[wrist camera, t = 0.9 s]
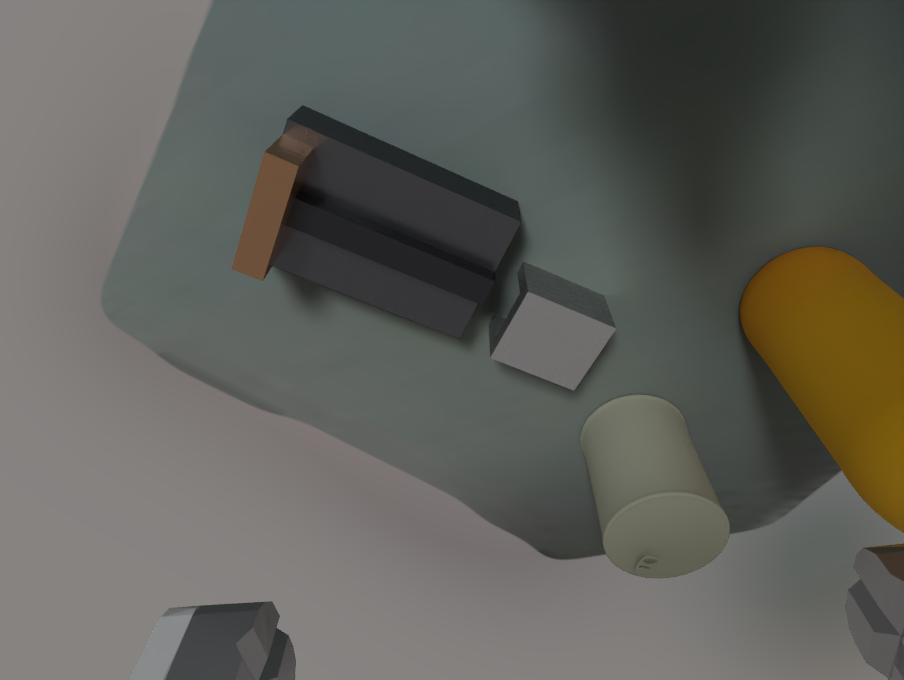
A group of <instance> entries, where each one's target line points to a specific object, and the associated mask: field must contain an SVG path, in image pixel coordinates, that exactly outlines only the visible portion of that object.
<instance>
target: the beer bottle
mask: <svg viewBox="0 0 904 680" xmlns="http://www.w3.org/2000/svg"><path fill="white" fill-rule="evenodd" d="M740 319H741V324H742V327H743V329H744V332H745V334H746V336H747V338H748V340H749V341H750V343H751V344H752V345H753V347H754V348H755V349H756V351H757V352H758V353H759V354H760V356H761V357H762V358H763V359H764V361H765V362H766V363H767V365H768V366H769V368H770V369H771V371H772V372H773V373H774V375H775V376H776V378H777V379H778V380H779V382H780V383H781V385H782V386H783V388H784V389H785V390H786V392H787V393H788V395H789V396H790V397H791V399H792V400H793V402H794V403H795V404H796V406H797V407H798V409H799V410H800V412H801V413H802V414H803V416H804V417H805V419H806V420H807V421H808V423H809V424H810V426H811V427H812V429H813V430H814V431H815V433H816V434H817V436H818V437H819V438H820V440H821V441H822V443H823V444H824V446H825V447H826V448H827V450H828V451H829V453H830V454H831V455H832V457H833V458H834V460H835V461H836V462H837V464H838V465H839V467H840V468H841V470H842V471H843V473H844V474H845V476H846V477H847V479H848V480H849V482H850V483H851V484H852V486H853V487H854V488H855V490H856V491H857V492H858V493H859V495H860V496H861V497H862V498H863V500H864V501H865V502H866V503H867V504H868V505H869V506H870V507H871V508H872V509H873V510H874V511H875V512H876V513H878V514H879V515H880V516H881V517H882V518H884V519H885V520H886V521H887V522H889V523H890V524H891V525H893V526H894V527H895V528H897V529H899V530H900V531H902V532H903V533H904V298H902V297H901V296H900V295H899V294H898V293H896V292H895V291H894V290H893V289H891V288H890V287H889V286H888V285H886V284H885V283H884V282H883V281H882V280H880V279H879V278H878V277H877V276H876V275H875V274H873V273H872V272H871V271H870V270H869V269H868V268H867V267H866V266H865V265H864V264H863V263H861V262H860V261H859V260H857V259H855V258H854V257H852V256H850V255H848V254H847V253H845V252H842V251H839V250H836V249H833V248H828V247H805V248H800V249H796V250H792V251H790V252H787V253H785V254H782V255H780V256H778V257H777V258H775V259H773V260H771V261H770V262H769V263H767V264H766V265H765V266H763V267H762V268H761V269H760V270H759V271H758V272H757V273H756V274H755V275H754V277H753V278H752V279H751V281H750V282H749V283H748V285H747V287H746V289H745V291H744V293H743V297H742V300H741V304H740Z"/></svg>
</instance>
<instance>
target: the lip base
mask: <svg viewBox="0 0 904 680" xmlns="http://www.w3.org/2000/svg"><path fill="white" fill-rule="evenodd" d="M520 224H521V217H520V211H519V206H518V201H516V200H514V199H511V198H509V197H507V196H505V195H502V194H500V193H498V192H496V191H493V190H491V189H489V188H487V187H484V186H482V185H480V184H478V183H475V182H473V181H471V180H469V179H466V178H464V177H462V176H460V175H457V174H455V173H453V172H451V171H449V170H446V169H444V168H442V167H440V166H437V165H435V164H433V163H431V162H428V161H426V160H424V159H422V158H419V157H417V156H415V155H413V154H410V153H408V152H406V151H404V150H401V149H399V148H397V147H395V146H393V145H390V144H388V143H386V142H384V141H381V140H379V139H377V138H375V137H372V136H370V135H368V134H366V133H363V132H361V131H359V130H357V129H354V128H352V127H350V126H348V125H345V124H343V123H341V122H339V121H337V120H334V119H332V118H330V117H328V116H325V115H323V114H321V113H319V112H316V111H314V110H312V109H310V108H307V107H305V106H303V105H302V106H301V107H300V108H299V109H298V110H297V111H296V112H295V113H293V114H292V115H291V116H290V117H289V118H288V119H287V122H286V125H285V129H284V132H283V135H282V136H281V137H280V138H279V139H277V140H276V141H275V142H274V143H273V144H272V145H271V146H270V147H269V148H268V149H267V150H266V151H265V153H264V156H263V160H262V163H261V167H260V170H259V174H258V177H257V181H256V185H255V188H254V192H253V195H252V199H251V202H250V206H249V210H248V213H247V217H246V220H245V224H244V227H243V231H242V234H241V238H240V242H239V245H238V249H237V252H236V256H235V259H234V263H233V266H232V269H233V270H236V271H238V272H241V273H243V274H246V275H249V276H251V277H254V278H256V279H259V280H262V281H263V280H264V278H265V277H266V275H267V274H268V272H269V270H270V269H271V267H272V266H274V267H277V268H279V269H282V270H284V271H287V272H289V273H292V274H294V275H297V276H300V277H302V278H305V279H307V280H310V281H312V282H315V283H317V284H320V285H322V286H325V287H328V288H330V289H333V290H335V291H338V292H340V293H343V294H345V295H348V296H350V297H353V298H356V299H358V300H361V301H363V302H366V303H368V304H371V305H373V306H376V307H378V308H381V309H384V310H386V311H389V312H391V313H394V314H396V315H399V316H401V317H404V318H407V319H409V320H412V321H414V322H417V323H419V324H422V325H424V326H427V327H429V328H432V329H435V330H437V331H440V332H442V333H445V334H447V335H450V336H452V337H455V338H457V339H460V337H461V335H462V333H463V331H464V329H465V327H466V325H467V324H468V322H469V320H470V318H471V316H472V314H473V312H474V310H475V308H476V307H477V305H478V304H480V305H482V306H483V304H484V302H485V300H486V298H487V297H488V295H489V293H490V291H491V289H492V287H493V285H494V284H495V271H496V269H497V267H498V265H499V263H500V261H501V259H502V258H503V256H504V254H505V252H506V250H507V248H508V246H509V244H510V242H511V241H512V239H513V237H514V235H515V233H516V231H517V229H518V227H519V225H520Z"/></svg>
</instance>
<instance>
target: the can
mask: <svg viewBox="0 0 904 680" xmlns="http://www.w3.org/2000/svg"><path fill="white" fill-rule="evenodd" d="M580 444H581V449H582V452H583V454H584V456H585V459H586V463H587V467H588V471H589V475H590V480H591V484H592V489H593V494H594V498H595V503H596V507H597V512H598V517H599V522H600V527H601V532H602V538H603V547H604V550H605V553H606V555H607V556H608V558H609V559H610V560H611V561H612V563H614V564H615V565H616V566H617V567H619V568H620V569H622V570H623V571H626V572H628V573H630V574H633V575H636V576H641V577H647V578H669V577H675V576H680V575H684V574H687V573H690V572H693V571H695V570H697V569H699V568H701V567H703V566H705V565H706V564H708V563H709V562H711V561H712V560H713V559H714V558H716V557H717V556H718V555H719V554H720V553H721V551H722V550H723V549H724V547H725V545H726V543H727V541H728V538H729V533H730V525H729V521H728V518H727V515H726V514H725V512H724V511H723V509H722V507H721V505H720V503H719V501H718V499H717V497H716V495H715V492H714V490H713V488H712V486H711V484H710V481H709V479H708V477H707V475H706V473H705V470H704V468H703V466H702V464H701V461H700V459H699V457H698V455H697V452H696V450H695V448H694V445H693V443H692V441H691V439H690V436H689V434H688V431H687V428H686V423H685V420H684V418H683V416H682V414H681V413H680V411H679V410H678V409H677V408H676V407H675V406H674V405H673V404H671V403H670V402H668V401H666V400H664V399H662V398H659V397H656V396H651V395H641V394H637V395H627V396H623V397H619V398H616V399H613V400H611V401H609V402H607V403H605V404H603V405H602V406H600V407H599V408H597V409H596V410H595V411H594V412H593V413H592V414H591V415H590V416H589V417H588V419H587V420H586V422H585V424H584V426H583V428H582V431H581V436H580Z"/></svg>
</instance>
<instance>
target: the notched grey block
mask: <svg viewBox="0 0 904 680" xmlns="http://www.w3.org/2000/svg"><path fill="white" fill-rule="evenodd" d="M517 274H518V282H519V289H520V294H519V296H518V298H517V300H516V301H515V303H514V305H513V307H512V308H511V310H510V312H509V314H508V316H507V317H506V318H503V317H501V316H498V315H496V314H494V315H493V317H492V319H491V321H490V322H489V342H490V358H491V359H494V360H497V361H499V362H502V363H504V364H507V365H509V366H512V367H514V368H517V369H520V370H522V371H525V372H527V373H530V374H532V375H535V376H538V377H540V378H543V379H545V380H548V381H550V382H553V383H556V384H558V385H561V386H563V387H566V388H568V389H571V390H573V391H574V390H575V389H576V387H577V386H578V384H579V383H580V381H581V380H582V378H583V377H584V375H585V374H586V373H587V371H588V370H589V368H590V367H591V365H592V364H593V362H594V361H595V359H596V358H597V356H598V355H599V353H600V352H601V350H602V349H603V348H604V346H605V345H606V343H607V342H608V340H609V339H610V337H611V336H612V334H613V333H614V331H615V330H616V326H615V323H614V321H613V318H612V315H611V313H610V310H609V307H608V305H607V302H606V299H605V297H604V295H601V294H599V293H596V292H594V291H592V290H589V289H587V288H585V287H582V286H580V285H578V284H575V283H573V282H571V281H568V280H566V279H564V278H561V277H559V276H557V275H554V274H552V273H550V272H547V271H545V270H543V269H540V268H538V267H536V266H533V265H531V264H529V263H526V262H524V261H523V263H522V264H521V266H520V268H519V270H518V272H517Z"/></svg>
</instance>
